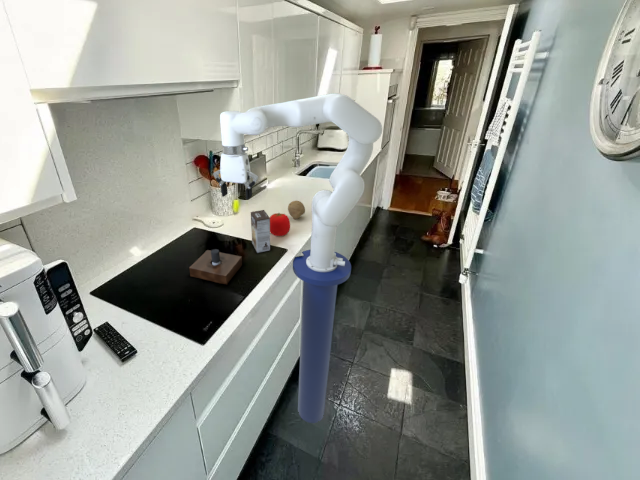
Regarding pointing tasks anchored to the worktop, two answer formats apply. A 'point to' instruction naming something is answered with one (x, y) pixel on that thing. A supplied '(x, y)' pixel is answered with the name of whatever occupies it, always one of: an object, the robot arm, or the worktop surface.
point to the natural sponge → (296, 209)
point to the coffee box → (260, 230)
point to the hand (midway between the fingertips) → (236, 196)
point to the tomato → (279, 224)
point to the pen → (215, 257)
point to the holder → (216, 267)
